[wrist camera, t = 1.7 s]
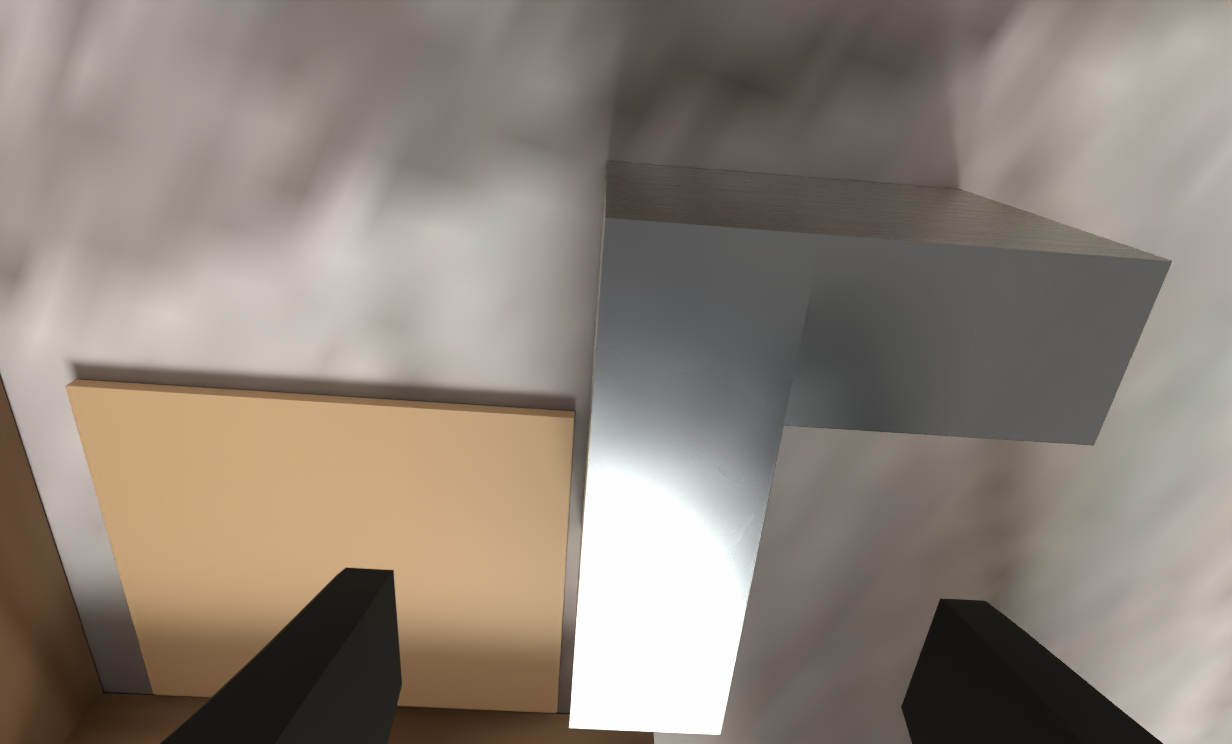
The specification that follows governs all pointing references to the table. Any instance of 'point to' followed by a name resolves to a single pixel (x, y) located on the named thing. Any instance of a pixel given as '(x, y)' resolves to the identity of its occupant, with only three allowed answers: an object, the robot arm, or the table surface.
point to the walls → (136, 724)
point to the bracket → (801, 384)
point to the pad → (335, 529)
